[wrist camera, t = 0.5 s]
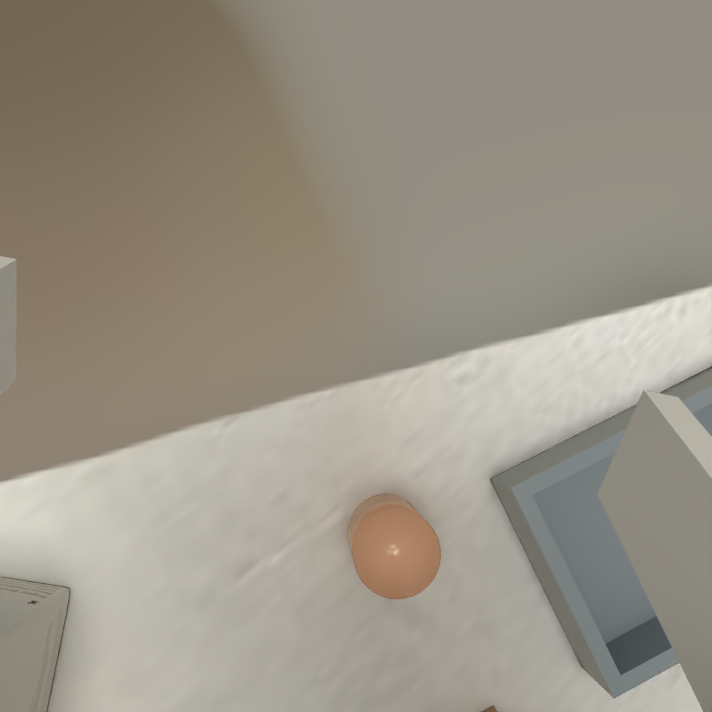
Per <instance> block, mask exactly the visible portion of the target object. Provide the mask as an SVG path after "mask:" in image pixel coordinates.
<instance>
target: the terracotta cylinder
mask: <svg viewBox="0 0 712 712" xmlns="http://www.w3.org/2000/svg"><path fill="white" fill-rule="evenodd" d="M348 538H349V543H350V547H351V551H352V555H353V559H354V563H355V567H356V570H357V573H358V575H359V577H360V579H361V580H362V581H363V583H364V584H365V585H366V586H367V587H368V588H369V589H370V590H371V591H373V592H374V593H376V594H378V595H380V596H382V597H386V598H390V599H404V598H408V597H412V596H414V595H416V594H418V593H420V592H421V591H423V590H424V589H425V588H426V587H427V586H428V585H429V584H430V583H431V582H432V580H433V579H434V577H435V575H436V574H437V571H438V568H439V565H440V559H441V550H440V544H439V540H438V538H437V535H436V533H435V531H434V530H433V528H432V527H431V526H430V524H429V523H428V522H427V521H426V520H425V519H424V518H423V517H422V516H421V515H420V514H419V513H418V512H417V511H416V510H415V509H414V508H413V507H412V506H411V505H410V504H409V503H408V502H407V501H405V500H404V499H402V498H400V497H398V496H394V495H389V494H382V495H376V496H373V497H370V498H368V499H367V500H365V501H364V502H362V503H361V504H360V505H359V506H358V507H357V508H356V510H355V511H354V513H353V514H352V516H351V519H350V522H349V526H348Z"/></svg>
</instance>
